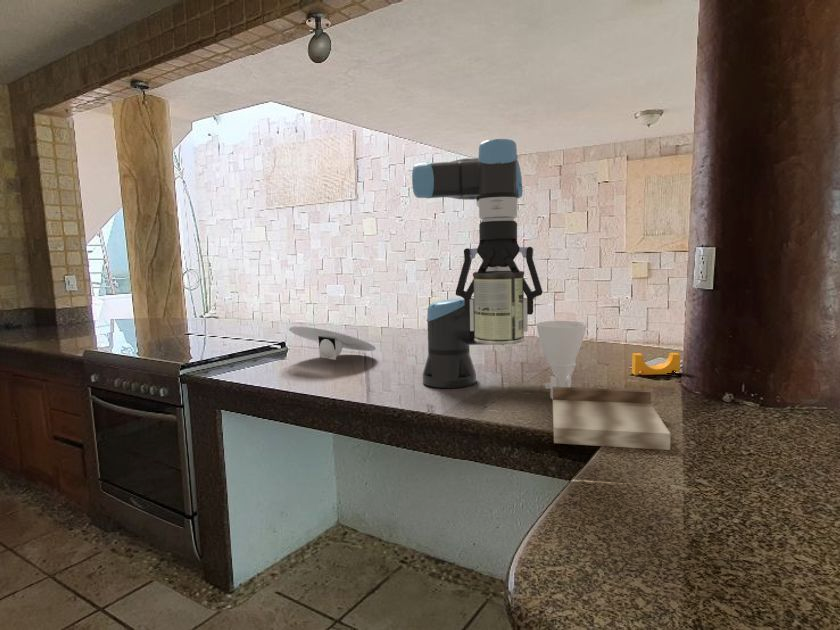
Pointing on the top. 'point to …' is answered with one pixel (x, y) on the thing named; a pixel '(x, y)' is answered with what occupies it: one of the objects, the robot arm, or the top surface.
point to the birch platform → (607, 418)
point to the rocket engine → (561, 349)
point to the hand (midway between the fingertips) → (498, 330)
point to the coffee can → (498, 307)
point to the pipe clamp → (661, 368)
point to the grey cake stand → (331, 341)
